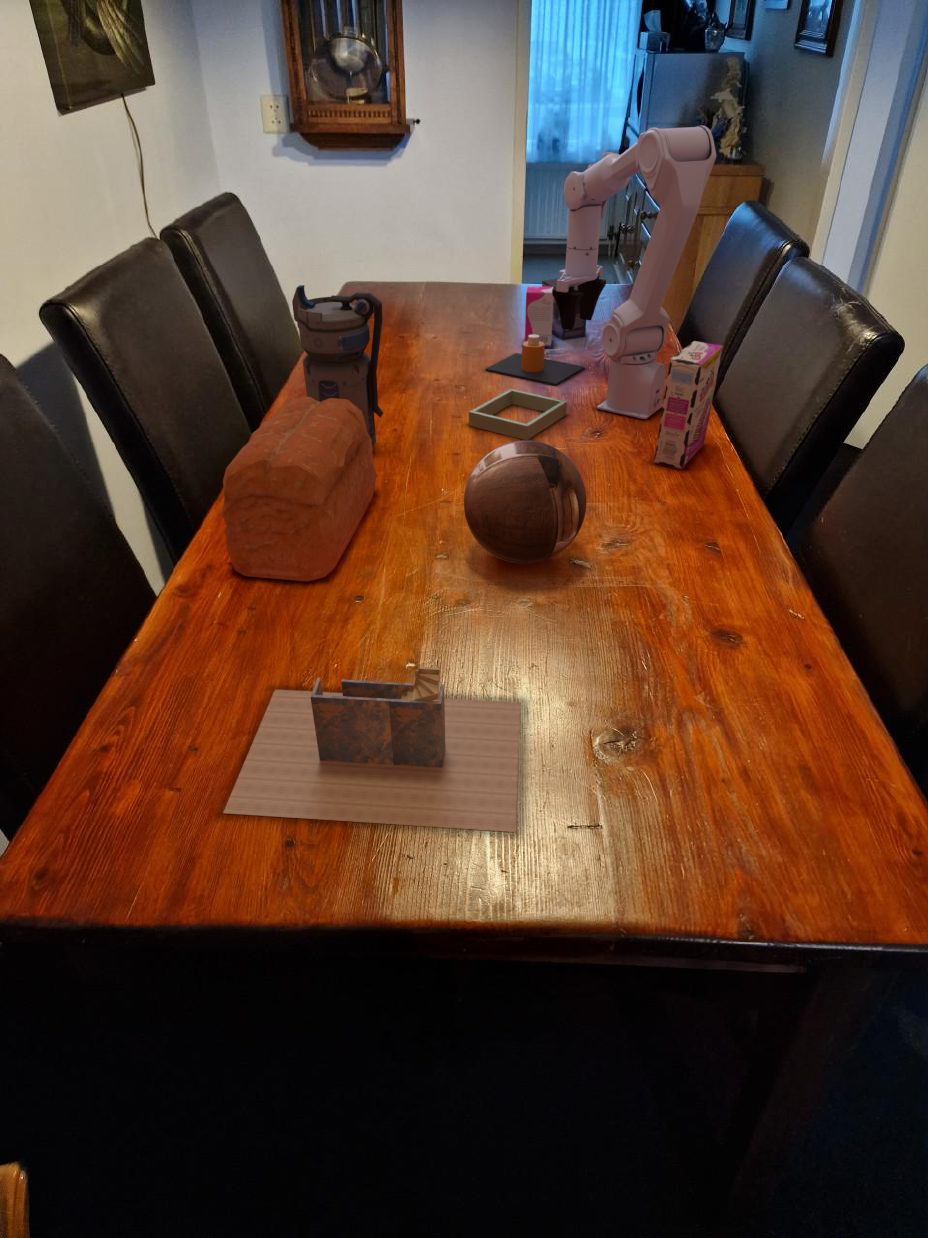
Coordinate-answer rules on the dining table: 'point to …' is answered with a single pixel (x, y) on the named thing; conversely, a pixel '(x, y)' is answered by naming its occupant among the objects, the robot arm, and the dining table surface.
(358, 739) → the architectural model on board
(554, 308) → the small box
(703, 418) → the candy bar box
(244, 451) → the bread
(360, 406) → the grenade canister
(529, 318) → the supplement box
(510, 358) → the mat
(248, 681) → the dining table surface
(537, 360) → the bottle
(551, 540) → the wooden sphere
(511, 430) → the square frame
